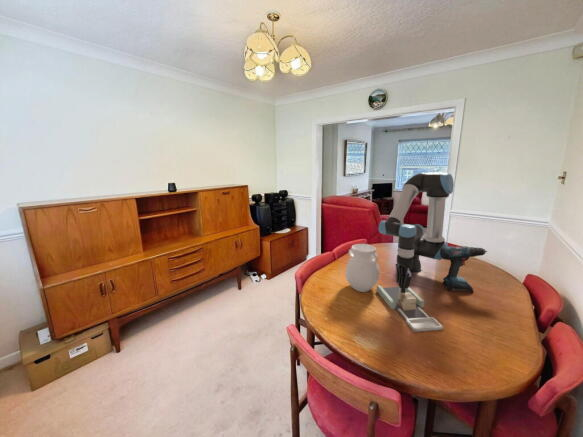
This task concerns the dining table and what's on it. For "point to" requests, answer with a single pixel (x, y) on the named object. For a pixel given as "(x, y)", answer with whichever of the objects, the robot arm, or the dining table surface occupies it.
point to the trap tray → (424, 324)
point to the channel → (391, 301)
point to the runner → (405, 313)
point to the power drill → (458, 266)
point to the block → (406, 301)
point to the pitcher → (362, 267)
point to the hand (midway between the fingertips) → (401, 297)
